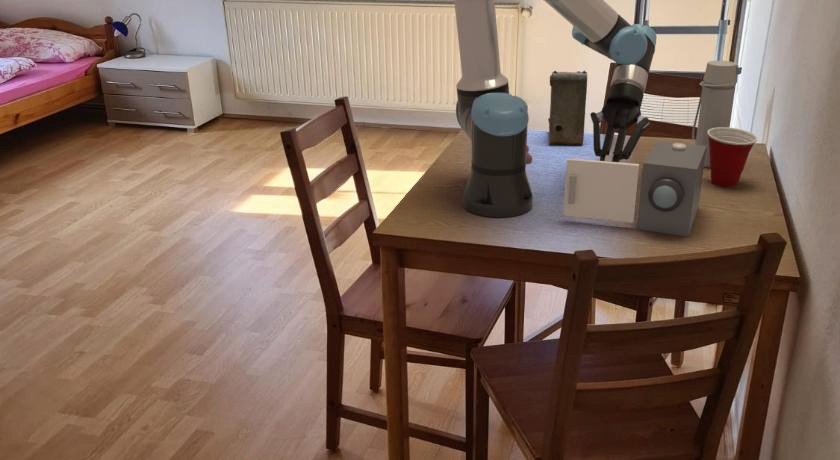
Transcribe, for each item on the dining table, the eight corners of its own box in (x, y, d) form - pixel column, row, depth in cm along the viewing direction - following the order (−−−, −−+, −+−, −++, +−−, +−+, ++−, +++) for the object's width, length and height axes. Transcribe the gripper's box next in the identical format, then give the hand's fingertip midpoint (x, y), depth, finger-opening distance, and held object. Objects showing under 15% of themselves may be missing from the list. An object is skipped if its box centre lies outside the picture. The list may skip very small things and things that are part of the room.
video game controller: (514, 157, 206) (502, 134, 203) (529, 150, 205) (518, 127, 203) (517, 169, 197) (505, 146, 194) (534, 161, 196) (522, 138, 193)
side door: (633, 220, 157) (639, 164, 152) (632, 224, 155) (638, 167, 151) (564, 213, 161) (567, 158, 157) (562, 217, 160) (566, 161, 155)
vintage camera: (579, 132, 223) (582, 62, 215) (584, 146, 208) (588, 71, 201) (545, 132, 224) (547, 62, 216) (548, 146, 209) (550, 72, 202)
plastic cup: (730, 194, 174) (738, 143, 169) (690, 181, 182) (697, 132, 177) (760, 185, 179) (768, 134, 175) (720, 172, 188) (727, 124, 183)
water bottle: (730, 165, 193) (745, 63, 183) (710, 171, 189) (724, 68, 179) (699, 155, 200) (712, 57, 190) (679, 161, 196) (691, 61, 186)
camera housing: (686, 241, 151) (695, 169, 145) (632, 233, 155) (639, 162, 149) (698, 208, 166) (707, 142, 161) (648, 202, 170) (656, 137, 165)
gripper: (658, 101, 173) (635, 197, 166) (600, 96, 178) (576, 189, 171) (655, 83, 167) (632, 181, 160) (595, 78, 172) (570, 173, 165)
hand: (603, 185), depth 166 cm, fingers closed
